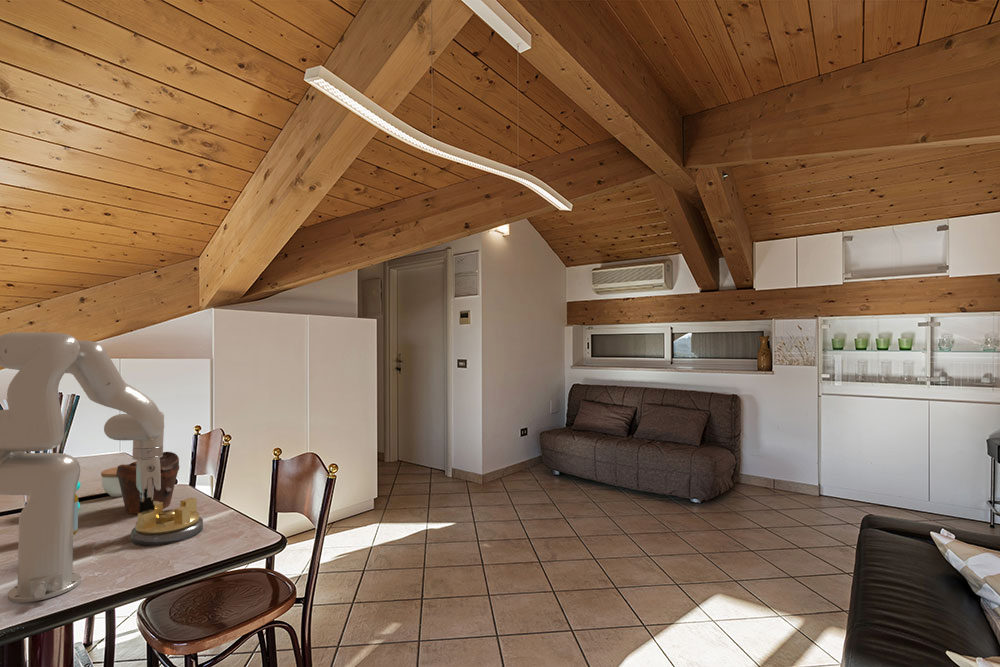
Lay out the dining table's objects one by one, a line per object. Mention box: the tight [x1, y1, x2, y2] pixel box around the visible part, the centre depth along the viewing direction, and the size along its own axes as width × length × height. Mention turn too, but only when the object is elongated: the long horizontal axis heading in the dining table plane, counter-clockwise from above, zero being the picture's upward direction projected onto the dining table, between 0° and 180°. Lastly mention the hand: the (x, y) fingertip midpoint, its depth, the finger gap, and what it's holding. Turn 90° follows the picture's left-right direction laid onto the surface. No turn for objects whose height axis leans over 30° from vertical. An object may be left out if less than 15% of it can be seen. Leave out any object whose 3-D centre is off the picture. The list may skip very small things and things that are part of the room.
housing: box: [130, 516, 204, 547], centre depth 150 cm, size 18×18×6 cm
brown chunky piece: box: [116, 451, 180, 515], centre depth 173 cm, size 18×20×18 cm
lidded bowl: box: [100, 463, 125, 498], centre depth 189 cm, size 13×13×11 cm
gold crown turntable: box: [134, 497, 200, 535], centre depth 150 cm, size 16×16×6 cm
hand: (146, 513), depth 149 cm, fingers closed
